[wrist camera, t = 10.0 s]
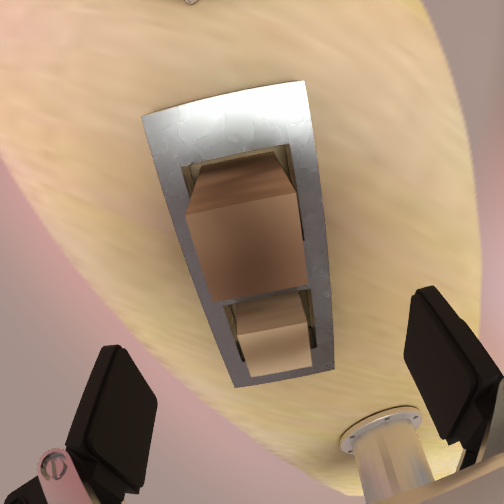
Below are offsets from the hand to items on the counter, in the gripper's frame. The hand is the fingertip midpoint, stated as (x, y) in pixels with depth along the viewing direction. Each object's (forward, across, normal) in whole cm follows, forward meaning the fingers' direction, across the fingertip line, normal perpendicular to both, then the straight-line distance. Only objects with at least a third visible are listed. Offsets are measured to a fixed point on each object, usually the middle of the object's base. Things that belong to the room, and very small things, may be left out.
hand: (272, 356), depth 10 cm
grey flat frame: (+14, 0, +4) cm, 14 cm away
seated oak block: (+14, 0, +9) cm, 16 cm away
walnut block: (+13, 0, -1) cm, 13 cm away
